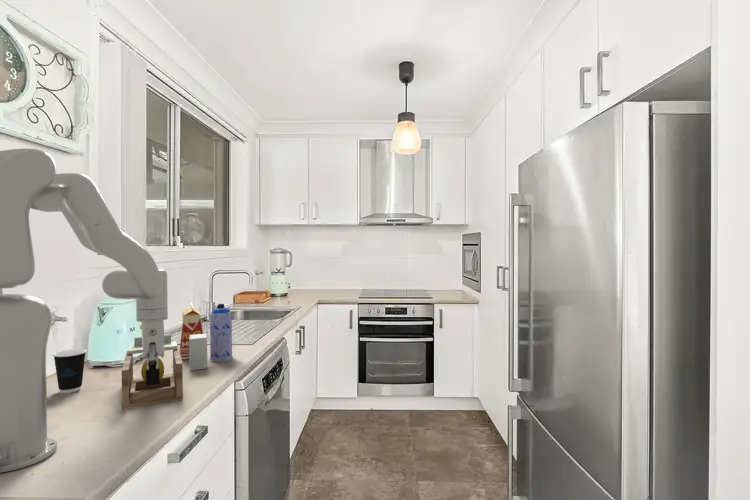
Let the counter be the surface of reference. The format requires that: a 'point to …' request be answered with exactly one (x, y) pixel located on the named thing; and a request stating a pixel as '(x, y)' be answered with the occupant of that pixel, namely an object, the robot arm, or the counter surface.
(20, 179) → the robot arm
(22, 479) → the counter surface
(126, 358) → the walnut box
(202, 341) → the small box
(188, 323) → the milk carton
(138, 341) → the lid
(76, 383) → the dixie cup
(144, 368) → the lemon
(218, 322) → the aerosol can
